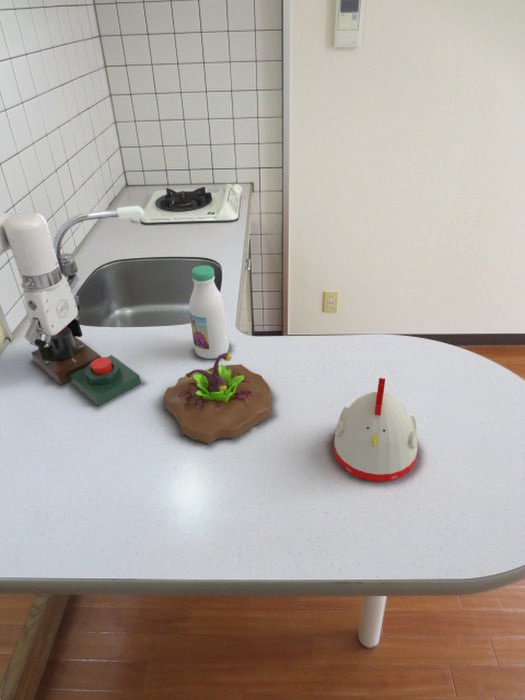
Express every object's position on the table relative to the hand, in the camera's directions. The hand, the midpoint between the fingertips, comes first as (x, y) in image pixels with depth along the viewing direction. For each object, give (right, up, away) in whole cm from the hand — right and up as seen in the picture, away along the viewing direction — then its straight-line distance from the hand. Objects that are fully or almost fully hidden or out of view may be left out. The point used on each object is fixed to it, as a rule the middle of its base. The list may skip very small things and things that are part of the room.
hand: (63, 347), depth 114 cm
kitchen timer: (+63, -18, -24) cm, 69 cm away
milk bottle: (+32, -1, +4) cm, 32 cm away
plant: (+35, -11, -12) cm, 39 cm away
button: (+11, -4, -7) cm, 13 cm away
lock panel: (0, -3, +2) cm, 4 cm away
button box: (+11, -7, -4) cm, 14 cm away
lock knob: (0, -1, +1) cm, 2 cm away
